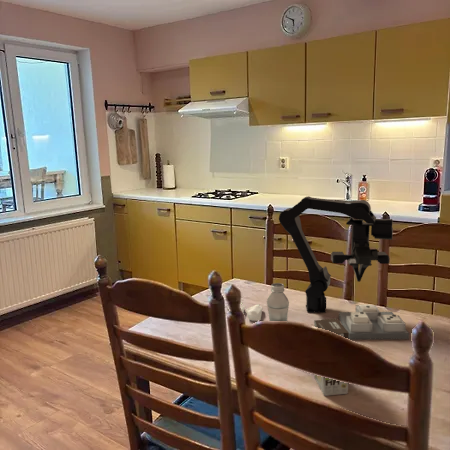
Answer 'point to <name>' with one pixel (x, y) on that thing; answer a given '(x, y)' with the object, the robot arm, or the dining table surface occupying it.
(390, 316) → the button three
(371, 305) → the button one
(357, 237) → the robot arm
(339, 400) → the dining table surface
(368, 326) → the panel
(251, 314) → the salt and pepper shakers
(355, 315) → the button two
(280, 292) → the plastic bottle
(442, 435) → the dining table surface
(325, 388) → the coffee box
